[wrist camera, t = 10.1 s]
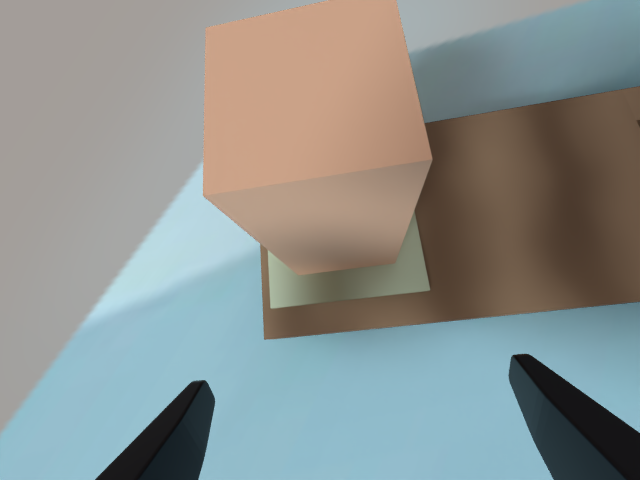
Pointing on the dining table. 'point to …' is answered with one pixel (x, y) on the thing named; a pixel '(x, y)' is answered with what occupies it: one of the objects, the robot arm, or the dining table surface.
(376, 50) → the block
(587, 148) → the board
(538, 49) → the dining table surface
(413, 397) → the dining table surface
